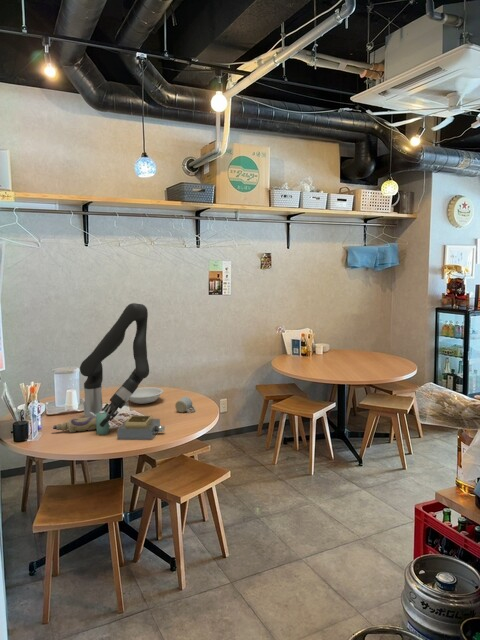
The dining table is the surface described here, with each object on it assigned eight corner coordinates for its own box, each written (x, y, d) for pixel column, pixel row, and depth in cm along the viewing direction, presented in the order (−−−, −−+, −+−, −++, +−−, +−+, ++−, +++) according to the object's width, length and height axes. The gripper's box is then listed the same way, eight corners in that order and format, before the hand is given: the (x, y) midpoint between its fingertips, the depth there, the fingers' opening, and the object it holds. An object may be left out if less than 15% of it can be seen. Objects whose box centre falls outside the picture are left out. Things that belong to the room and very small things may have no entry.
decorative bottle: (106, 425, 246) (105, 413, 245) (105, 430, 239) (105, 418, 238) (54, 430, 240) (53, 418, 239) (52, 435, 233) (51, 422, 232)
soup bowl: (171, 400, 292) (171, 389, 292) (144, 410, 272) (144, 399, 272) (143, 395, 305) (143, 385, 305) (115, 404, 285) (115, 394, 284)
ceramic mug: (174, 412, 266) (174, 399, 265) (180, 408, 274) (180, 395, 273) (191, 414, 263) (191, 401, 262) (197, 410, 270) (197, 397, 269)
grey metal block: (117, 439, 225) (116, 424, 224) (127, 428, 241) (127, 414, 240) (160, 439, 224) (159, 424, 223) (167, 428, 239) (167, 414, 239)
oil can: (107, 430, 239) (105, 407, 238) (110, 433, 234) (109, 410, 233) (89, 433, 234) (88, 410, 233) (93, 437, 229) (91, 413, 228)
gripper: (111, 390, 243) (89, 416, 237) (120, 396, 231) (97, 424, 225) (121, 398, 246) (100, 424, 241) (131, 404, 234) (109, 432, 229)
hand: (99, 424), depth 233 cm, fingers closed on oil can, 6 cm apart
